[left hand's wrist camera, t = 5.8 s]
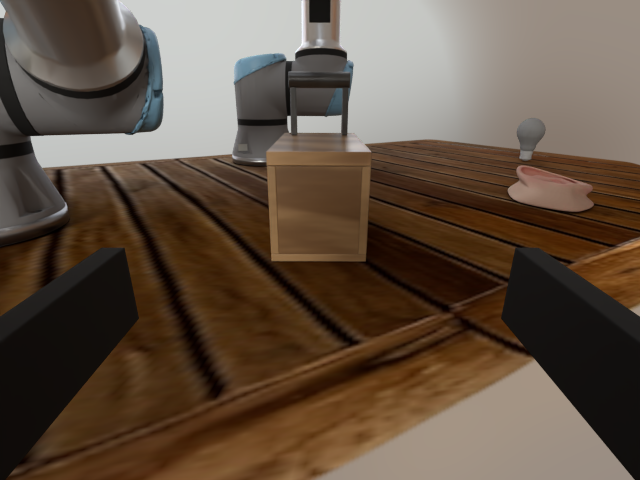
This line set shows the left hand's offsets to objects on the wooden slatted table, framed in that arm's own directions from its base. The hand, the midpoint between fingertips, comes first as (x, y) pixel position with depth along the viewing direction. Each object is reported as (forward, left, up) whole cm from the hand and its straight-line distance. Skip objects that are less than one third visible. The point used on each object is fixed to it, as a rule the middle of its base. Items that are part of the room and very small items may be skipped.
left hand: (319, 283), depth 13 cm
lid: (-25, +17, 0) cm, 30 cm away
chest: (-25, +17, -9) cm, 31 cm away
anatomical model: (-16, +54, -9) cm, 57 cm away
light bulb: (-38, +88, -9) cm, 96 cm away
